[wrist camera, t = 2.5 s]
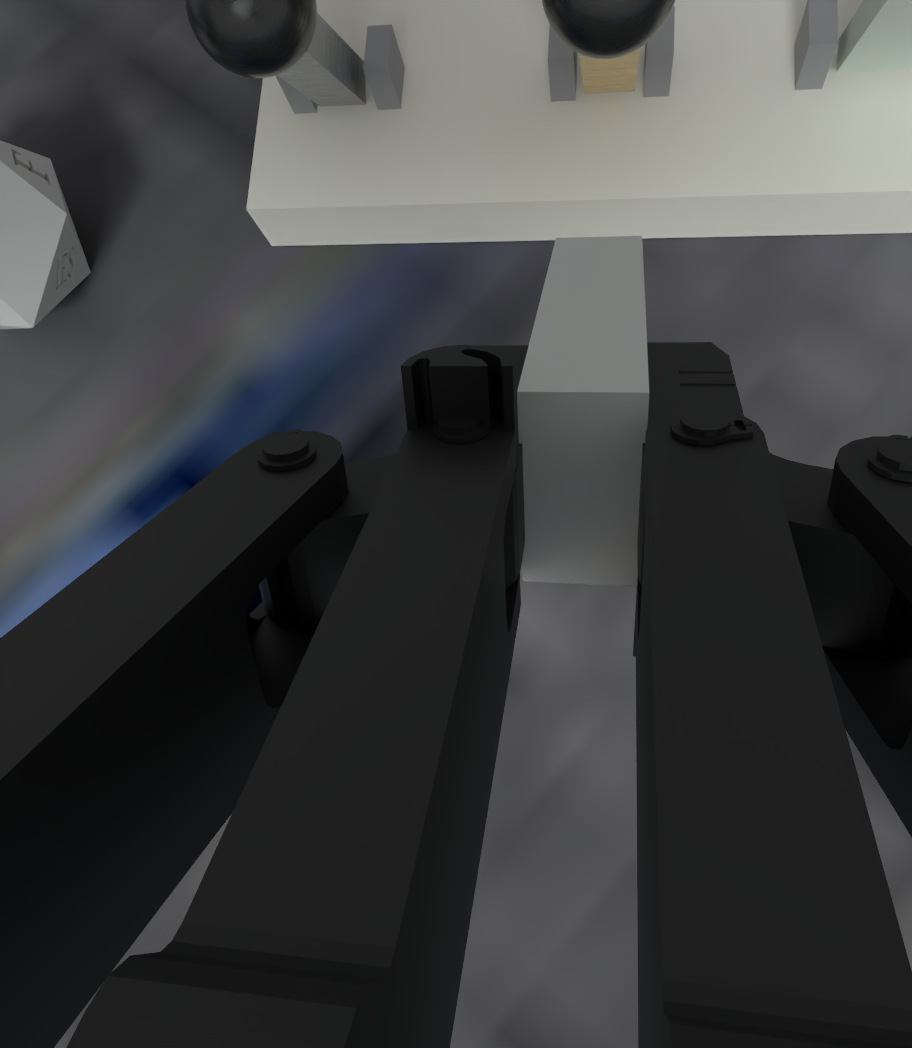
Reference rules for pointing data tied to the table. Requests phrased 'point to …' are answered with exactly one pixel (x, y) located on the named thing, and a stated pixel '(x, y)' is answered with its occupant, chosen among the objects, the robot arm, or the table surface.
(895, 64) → the sage paddle
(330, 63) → the grey lever
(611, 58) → the brass lever
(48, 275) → the die
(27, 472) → the table surface
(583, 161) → the panel
